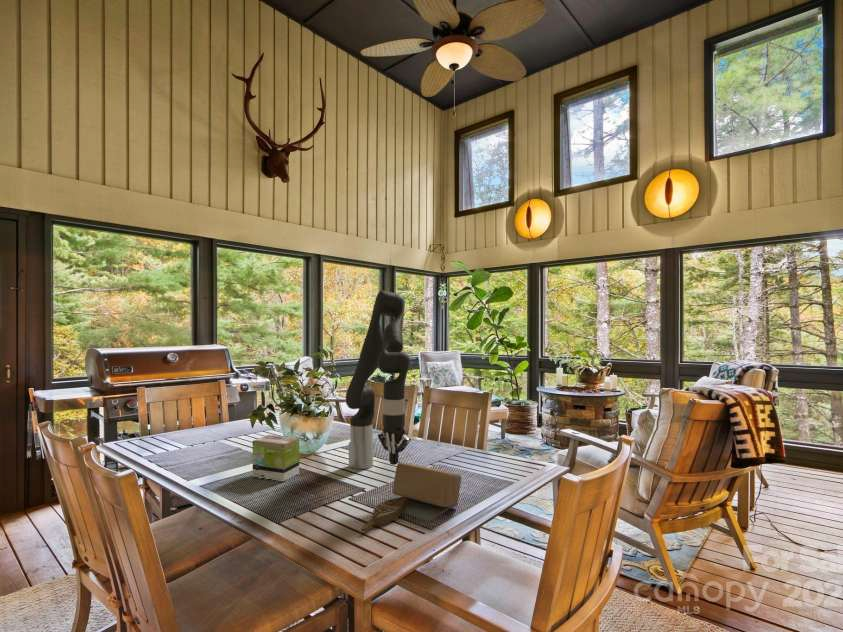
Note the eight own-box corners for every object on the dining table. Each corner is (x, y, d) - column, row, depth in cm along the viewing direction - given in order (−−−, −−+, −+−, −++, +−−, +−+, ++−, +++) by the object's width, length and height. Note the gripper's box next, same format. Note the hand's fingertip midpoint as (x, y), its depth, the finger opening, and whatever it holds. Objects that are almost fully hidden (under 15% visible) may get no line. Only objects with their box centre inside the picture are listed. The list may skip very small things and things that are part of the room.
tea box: (251, 478, 174) (251, 440, 174) (268, 470, 183) (268, 434, 183) (284, 483, 168) (283, 443, 169) (300, 474, 178) (299, 436, 178)
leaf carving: (352, 532, 128) (352, 522, 128) (392, 501, 148) (391, 493, 148) (374, 537, 125) (374, 527, 125) (412, 505, 144) (411, 496, 144)
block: (390, 493, 147) (442, 507, 136) (396, 462, 150) (447, 472, 139) (407, 494, 155) (458, 507, 144) (413, 464, 158) (463, 474, 146)
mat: (378, 506, 146) (378, 504, 146) (405, 492, 157) (405, 490, 157) (429, 521, 134) (429, 519, 134) (454, 505, 146) (454, 503, 146)
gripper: (416, 412, 150) (416, 464, 150) (386, 407, 158) (385, 457, 158) (402, 416, 144) (402, 470, 144) (371, 411, 152) (371, 463, 152)
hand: (393, 463), depth 151 cm, fingers closed
